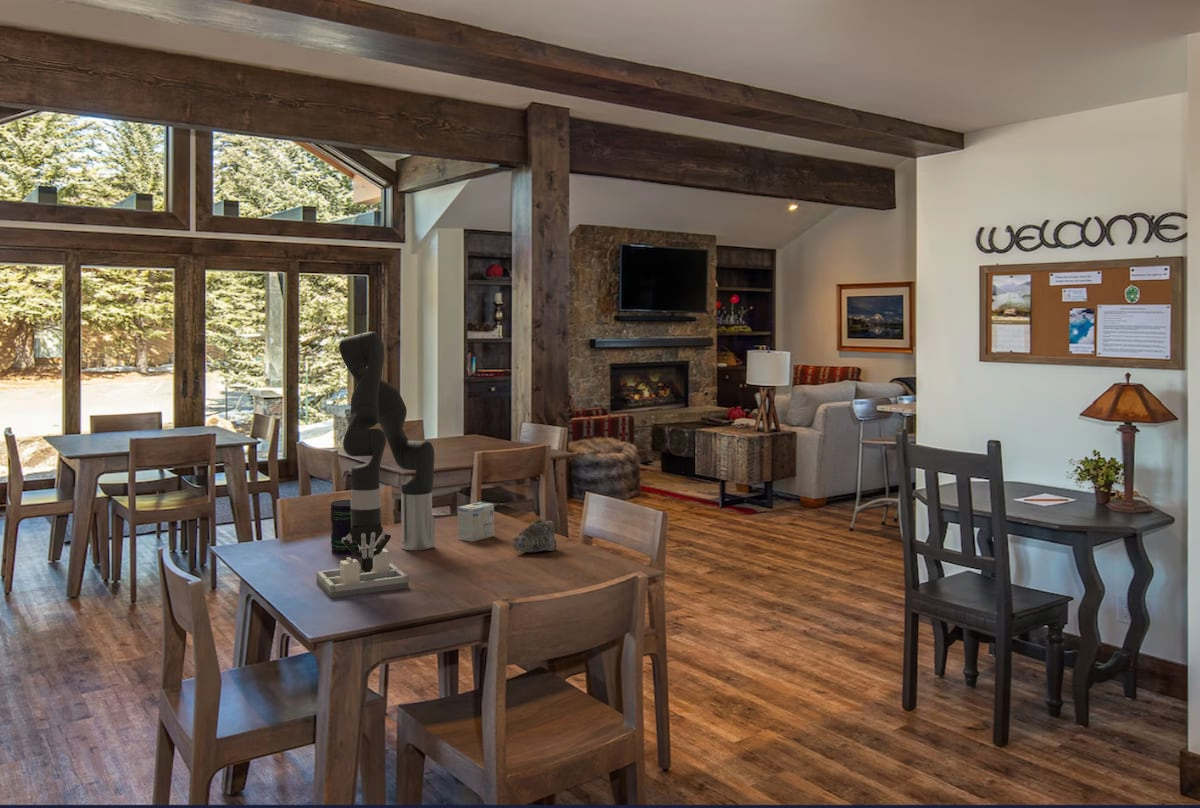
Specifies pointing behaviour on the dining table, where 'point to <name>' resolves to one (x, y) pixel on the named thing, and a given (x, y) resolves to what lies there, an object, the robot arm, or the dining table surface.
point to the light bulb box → (475, 521)
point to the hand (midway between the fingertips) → (366, 571)
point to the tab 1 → (349, 571)
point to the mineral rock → (536, 537)
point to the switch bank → (362, 582)
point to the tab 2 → (381, 561)
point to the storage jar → (341, 527)
